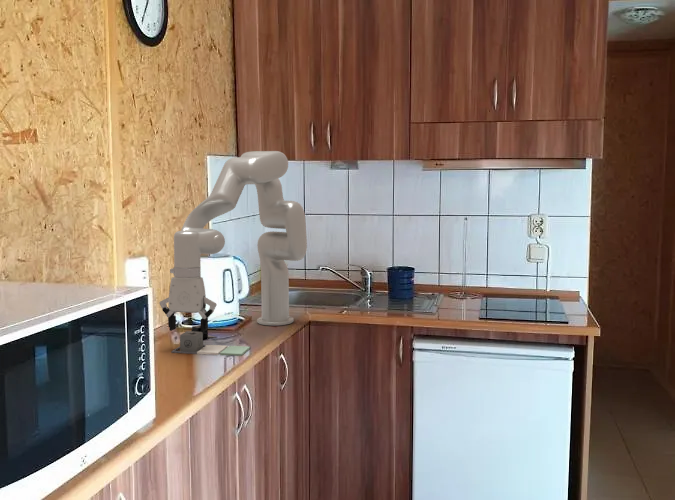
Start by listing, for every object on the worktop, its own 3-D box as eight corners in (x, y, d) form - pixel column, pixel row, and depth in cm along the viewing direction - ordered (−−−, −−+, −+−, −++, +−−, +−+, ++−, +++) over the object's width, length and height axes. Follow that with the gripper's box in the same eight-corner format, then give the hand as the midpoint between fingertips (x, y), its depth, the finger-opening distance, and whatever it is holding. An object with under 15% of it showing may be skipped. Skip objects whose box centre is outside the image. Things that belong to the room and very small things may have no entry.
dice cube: (196, 352, 203) (195, 335, 202) (180, 351, 204) (179, 335, 203) (202, 348, 207) (202, 331, 207) (187, 347, 208) (186, 331, 208)
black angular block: (190, 345, 212) (189, 331, 212) (176, 342, 217) (175, 327, 217) (222, 338, 221) (222, 324, 221) (208, 334, 226) (208, 321, 226)
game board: (182, 345, 210) (182, 343, 210) (250, 348, 206) (250, 346, 206) (171, 352, 202) (171, 350, 202) (241, 356, 198) (241, 353, 198)
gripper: (154, 273, 200) (155, 331, 202) (211, 275, 197) (211, 334, 199) (165, 270, 208) (166, 326, 209) (220, 272, 205) (220, 329, 206)
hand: (188, 330), depth 204 cm, fingers open, 9 cm apart
